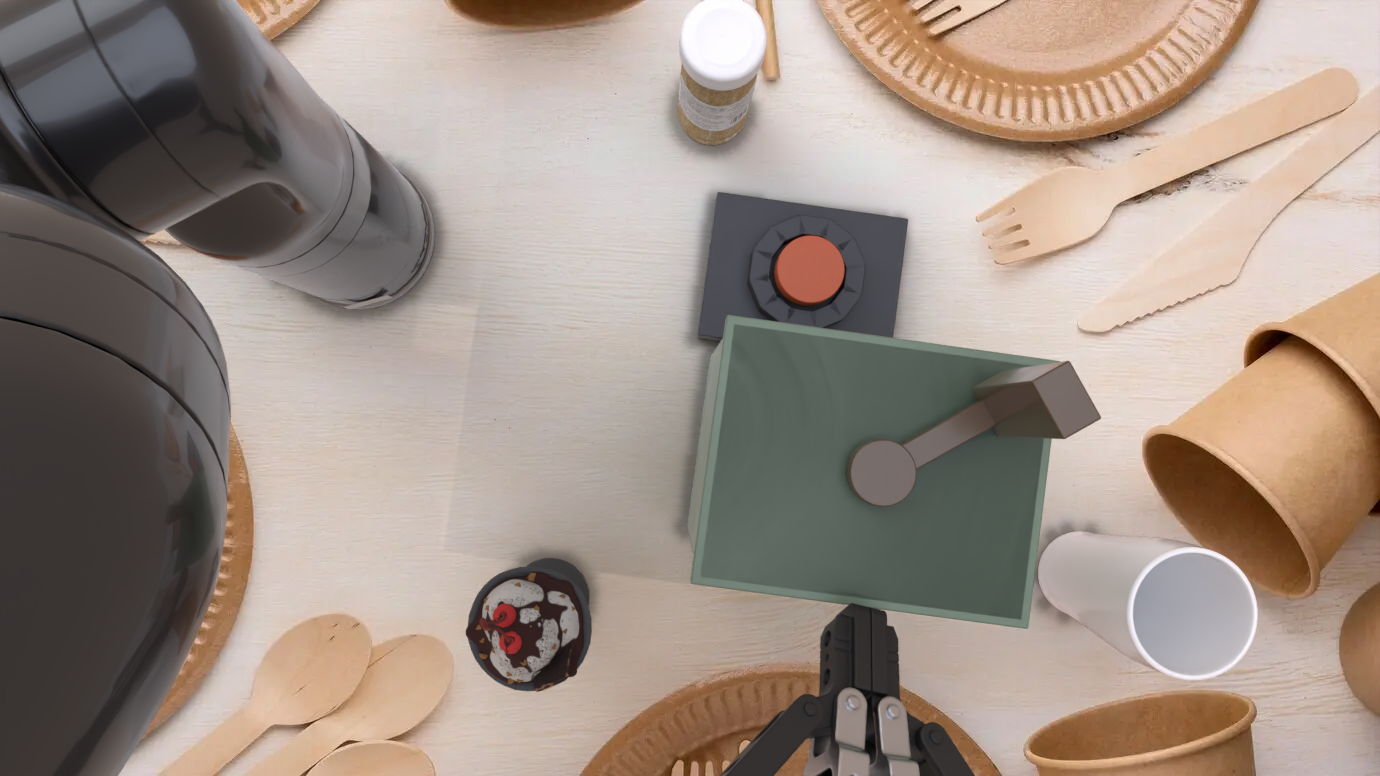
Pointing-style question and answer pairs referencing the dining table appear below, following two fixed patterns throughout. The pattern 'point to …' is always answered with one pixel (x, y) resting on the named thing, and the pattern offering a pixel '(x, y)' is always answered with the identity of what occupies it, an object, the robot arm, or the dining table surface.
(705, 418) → the block
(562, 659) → the sundae
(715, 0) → the sprinkles bottle
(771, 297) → the control box
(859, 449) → the lever
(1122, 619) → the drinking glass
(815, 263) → the button
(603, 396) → the dining table surface
